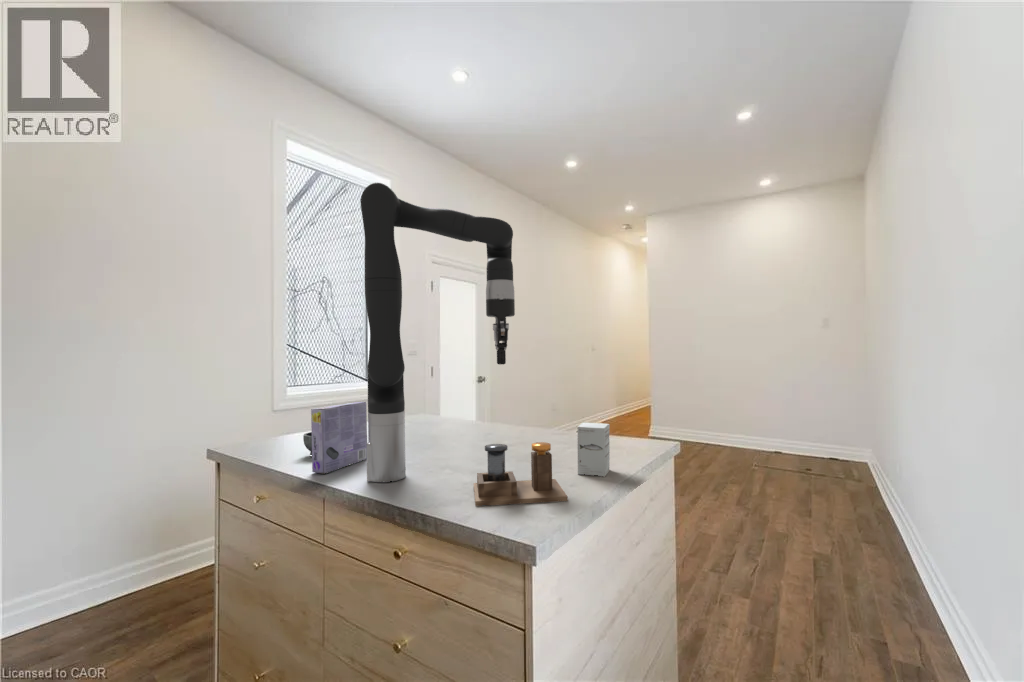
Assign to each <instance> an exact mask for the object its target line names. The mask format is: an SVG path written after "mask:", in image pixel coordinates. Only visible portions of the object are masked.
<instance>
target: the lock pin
mask: <svg viewBox="0 0 1024 682" xmlns="http://www.w3.org/2000/svg"><path fill="white" fill-rule="evenodd" d="M551 445H552V444H551V443H550V442H545V441H544V442H543V441H539V442H533V443H531V451H532V452H534V451H537V455H546V451H549V452H550V451H551V450H552V446H551Z"/></svg>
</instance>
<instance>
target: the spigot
mask: <svg viewBox="0 0 1024 682" xmlns="http://www.w3.org/2000/svg"><path fill="white" fill-rule="evenodd" d="M508 449H509V447H508V445H507V444H505V443H490V444H485V445H484V451H485V452H487V473H488V482H491V481H505V472H506V451H508Z"/></svg>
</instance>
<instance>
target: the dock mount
mask: <svg viewBox="0 0 1024 682" xmlns="http://www.w3.org/2000/svg"><path fill="white" fill-rule="evenodd" d="M530 459H531V460H530V461H531V463H530V464H531V465H530V466H531V469H530V470H531V471H530V473H531V479H529V480H517V479H516V476H515V474H514V471H510V470H509V471H505V481H491V482H488V472H477V473H476V481H477V482H473V495H474V505H475V507H483V506H482V505H486V506H502V505H517V504H519V505H521V504H535V503H555V502H568V501H569V499H568V494H567V493H566V492H565V491H564V489H563V488H562V486H561V485H560V484H559V482H558V481H557V479H556V478H553V455H552V453H551V452H550V451H546V455H537V451H531V452H530Z"/></svg>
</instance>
